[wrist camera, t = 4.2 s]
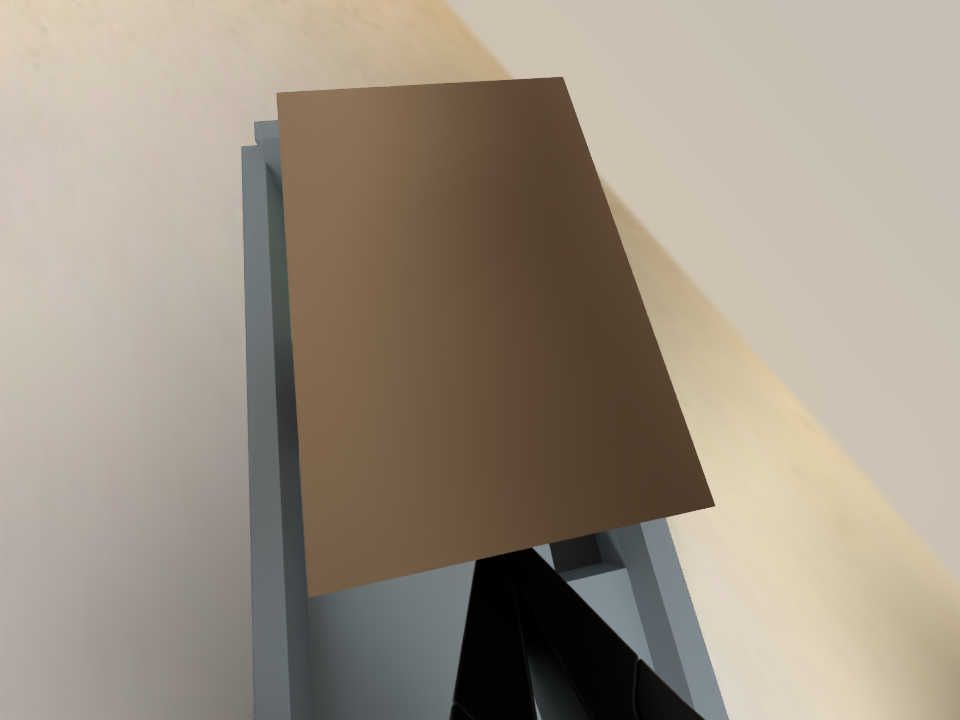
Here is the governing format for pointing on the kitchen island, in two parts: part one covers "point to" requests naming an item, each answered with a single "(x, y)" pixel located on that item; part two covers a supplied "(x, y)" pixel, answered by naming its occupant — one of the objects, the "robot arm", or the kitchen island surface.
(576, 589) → the tray
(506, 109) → the walnut block
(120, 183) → the kitchen island surface
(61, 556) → the kitchen island surface
